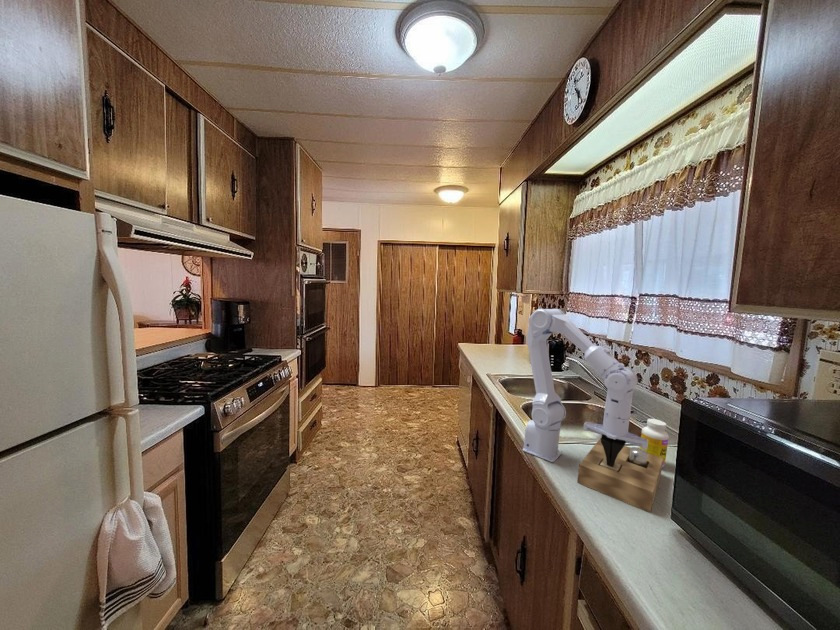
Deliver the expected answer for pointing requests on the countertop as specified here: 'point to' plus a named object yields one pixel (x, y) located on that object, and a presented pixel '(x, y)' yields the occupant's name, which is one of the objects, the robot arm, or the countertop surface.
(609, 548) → the countertop surface
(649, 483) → the oak block
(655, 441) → the supplement bottle
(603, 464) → the peg maple
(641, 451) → the peg steel
